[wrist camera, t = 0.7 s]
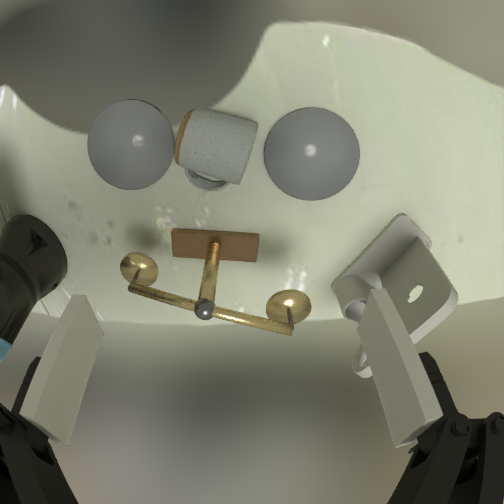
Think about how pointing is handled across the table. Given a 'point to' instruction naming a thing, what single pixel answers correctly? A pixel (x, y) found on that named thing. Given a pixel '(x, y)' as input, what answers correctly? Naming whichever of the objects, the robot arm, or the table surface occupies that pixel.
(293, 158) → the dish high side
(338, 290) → the phone holder
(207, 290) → the balance
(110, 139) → the dish low side
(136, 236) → the table surface
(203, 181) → the ceramic mug
